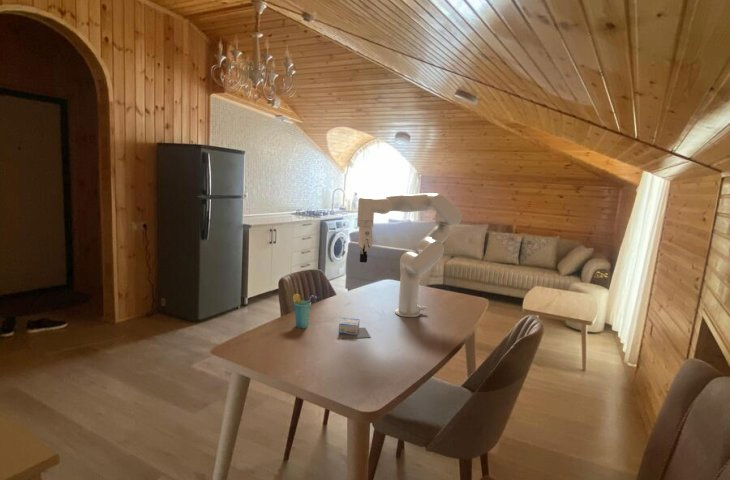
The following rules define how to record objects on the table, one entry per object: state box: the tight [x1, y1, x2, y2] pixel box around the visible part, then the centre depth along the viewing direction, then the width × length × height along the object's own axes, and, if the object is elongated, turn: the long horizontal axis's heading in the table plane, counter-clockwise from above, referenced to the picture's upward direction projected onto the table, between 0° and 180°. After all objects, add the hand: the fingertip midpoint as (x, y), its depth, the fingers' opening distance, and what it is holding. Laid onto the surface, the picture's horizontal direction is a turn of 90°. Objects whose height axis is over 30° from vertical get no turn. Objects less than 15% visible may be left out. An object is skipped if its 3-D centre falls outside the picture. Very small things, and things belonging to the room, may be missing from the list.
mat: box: [340, 327, 372, 340], centre depth 169 cm, size 12×11×1 cm
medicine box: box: [338, 317, 360, 335], centre depth 170 cm, size 8×4×9 cm
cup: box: [292, 293, 320, 329], centre depth 173 cm, size 14×8×15 cm, turn 67°
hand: (363, 261), depth 187 cm, fingers closed
